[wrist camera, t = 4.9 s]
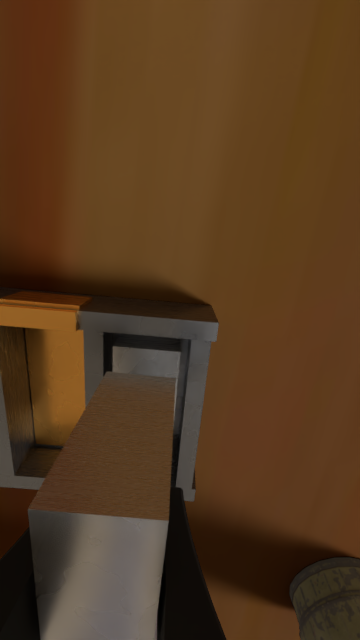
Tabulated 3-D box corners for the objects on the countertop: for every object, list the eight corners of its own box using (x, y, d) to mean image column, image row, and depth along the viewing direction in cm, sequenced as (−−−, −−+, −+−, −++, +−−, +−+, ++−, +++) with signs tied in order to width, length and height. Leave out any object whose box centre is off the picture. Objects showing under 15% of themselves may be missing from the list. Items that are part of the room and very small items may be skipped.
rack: (192, 457, 20) (194, 505, 16) (-46, 438, 20) (-98, 483, 16) (211, 302, 16) (220, 320, 13) (-80, 276, 16) (-158, 288, 12)
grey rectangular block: (160, 518, 14) (144, 717, 8) (103, 514, 14) (47, 711, 8) (175, 378, 11) (168, 520, 6) (106, 371, 11) (27, 508, 6)
